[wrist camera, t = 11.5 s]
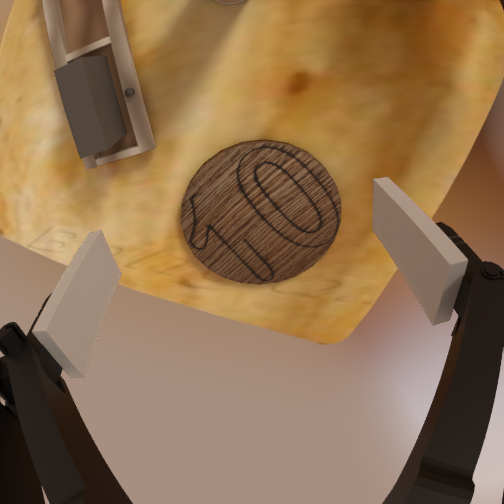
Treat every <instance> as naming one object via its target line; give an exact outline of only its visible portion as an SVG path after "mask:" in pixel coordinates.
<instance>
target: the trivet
mask: <svg viewBox="0 0 504 504" xmlns="http://www.w3.org/2000/svg"><path fill="white" fill-rule="evenodd" d="M340 222H341V201H340V197H339V194H338V190H337V186H336V184H335V183H334V181H333V179H332V178H331V176H330V175H329V173H328V172H327V170H326V168H325V167H324V166H323V165H322V164H321V163H320V162H319V161H317V160H316V159H315V158H314V157H313V156H312V155H310V154H309V153H308V152H307V151H304V150H302V149H300V148H298V147H296V146H293V145H291V144H289V143H285V142H279V141H272V140H256V141H247V142H241V143H239V144H236V145H234V146H231V147H228V148H226V149H224V150H221V151H220V152H218V153H217V154H216V155H214V156H213V157H212V158H210V159H209V160H208V161H206V162H205V163H204V164H203V165H202V166H201V167H200V169H199V170H198V171H197V173H196V174H195V175H194V177H193V178H192V179H191V181H190V183H189V186H188V189H187V191H186V194H185V197H184V200H183V203H182V219H181V224H182V228H183V232H184V236H185V239H186V242H187V243H188V245H189V247H190V249H191V250H192V252H193V254H194V255H195V257H196V258H198V259H199V260H200V261H201V262H202V263H203V264H204V265H205V266H206V267H207V268H208V269H210V270H211V271H213V272H215V273H217V274H218V275H220V276H222V277H224V278H227V279H230V280H233V281H237V282H240V283H248V284H268V283H276V282H280V281H283V280H286V279H289V278H292V277H295V276H297V275H299V274H300V273H302V272H304V271H306V270H307V269H309V268H311V267H312V266H313V265H314V264H315V263H316V262H317V261H318V260H319V259H321V258H322V257H323V256H324V255H325V254H326V252H327V250H328V249H329V247H330V246H331V244H332V243H333V241H334V240H335V237H336V234H337V231H338V228H339V225H340Z"/></svg>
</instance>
